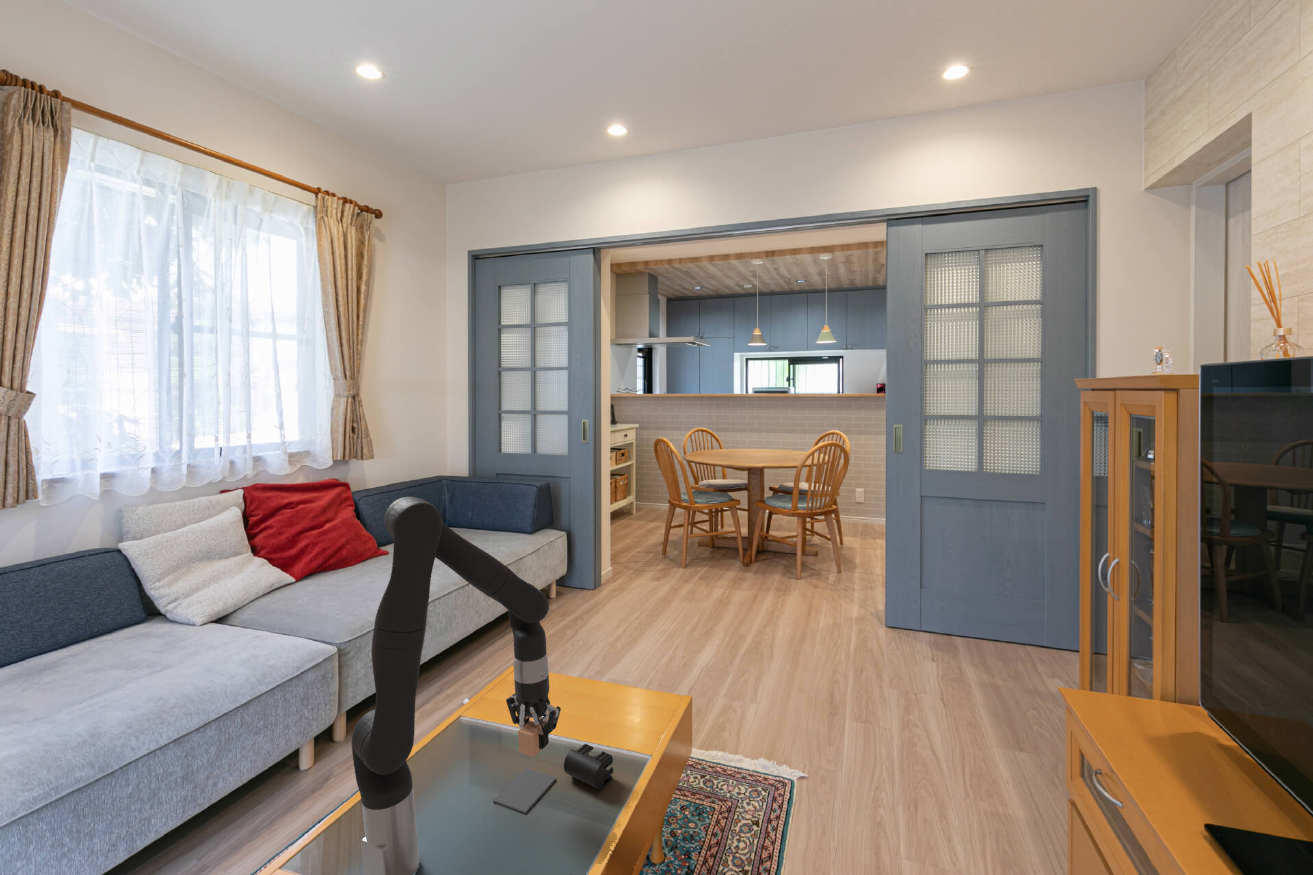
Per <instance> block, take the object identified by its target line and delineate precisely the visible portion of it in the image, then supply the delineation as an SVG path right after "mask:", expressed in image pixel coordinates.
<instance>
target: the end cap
mask: <svg viewBox="0 0 1313 875" xmlns="http://www.w3.org/2000/svg"><path fill="white" fill-rule="evenodd" d="M593 750H594V746H592V745H590V744H587V743H584V744H583V745H581V746H580V747H579V748H577V749H576V750H575V749H572V748H571V749H570V750H569V751H568V752H567V754H566V756H565V758H564V761H563V771H564V773H565V774H567V775H568V776H570V777H573V779H574V778H575V779H576V780H578V781H581V782H583V783H584V784H587V785H588V786H591V787H592V788H594V789H596V790H599V791H601V790H603V789H604V788H605V787H606V786H608V784H610V783H611V782H612V781H613V776H612V774H614V767H613V766H611V765H612V764H613V763H614V761H613V760H614V759H613V758H614V757H613V755H612V754H609V752H606V751H602V750H601V752H600V753H598V754H597V755H595V756H592V755H590V753H591V752H592V751H593ZM609 767H610V768H609ZM607 768H608V769H607ZM610 781H611V782H610ZM609 782H610V783H609Z"/></svg>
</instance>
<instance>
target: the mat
mask: <svg viewBox="0 0 1313 875" xmlns="http://www.w3.org/2000/svg"><path fill="white" fill-rule="evenodd" d="M555 781H557V777H555V776H552V775H548V774H545V773H542V772H539V771H536V770H533V769H530V768H528V767H525V768H523V769H522V770H521V772H520V773H518V775H516V777H515V778H514V779H513V780H512V781H510V783H509V784H507V786H506V787H505V788H504V789H502V791H501V792H500V793H499V794H498V795H497V796H496V797H495V798H494V799H492V802H493V803H495V804H498V805H500V806H502V807H505V808H508V809H510V810H513V811H516V812H519V813H522V814H524V815H526V814H527V813H528V812H529V810H531V808H532V807H533V806H534V805H535V804H536V803H537V802H538V801H539V799H540V798H541V797H542V796H543V795H544V794H545V793H546V792H547V791H548V789H549V788H550V787H551V786H552V785H553V784H554V783H555Z"/></svg>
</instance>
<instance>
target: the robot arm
mask: <svg viewBox="0 0 1313 875" xmlns="http://www.w3.org/2000/svg"><path fill="white" fill-rule="evenodd" d="M383 520H384V526H385V530H386V533H388V535H389V536H390V537H391V538H392V539H393V550H392V551H393V553H392V566H391V573H390V577H389V580H388V584H387V586H386V587H385V591H384V593H383V594H382V597H381V600H380V602H379V605H378V608H377V610H376V614H375V619H374V625H373V626H374V627H373V633H372V641H371V666H372V667H371V668H372V673H373V679H374V686H375V688H374V689H375V706H374V709H372V710H369V711H368V712H367V713H365V714H364V715H363V716H362V717H360V719H359V720H358V722H357V723H356V725H355V726H354V729H353V731H352V735H351V755H352V761H353V768H354V774H355V775H354V776H355V780H356V785H357V787H358V790H359V794H360V801H361V808H362V820H363V828H364V829H363V830H364V836H363V838H361V840H360V847H361V856H362V858H361V859H362V867H363V875H413V874H414V873H415V872H417V873H418V871H419V869H418V868H420V865H419V863H420V853H419V843H418V832H417V830H418V829H417V821H416V820H417V817H416V807H415V798H414V796H415V795H414V786H413V776H412V772H411V769H410V767H409V765H408V762H407V760H408V758H409V757H410V755H411V752H412V750H413V746H414V740H415V721H416V716H415V715H416V714H415V713H416V697H417V695H416V694H417V690H418V682H419V677H420V676H419V675H420V669H421V661H422V660H421V659H422V654H423V648H424V644H425V643H424V642H425V637H426V636H425V635H426V627H427V618H428V617H427V616H428V609H429V602H430V593H431V592H430V591H431V581H432V579H431V578H432V574H433V569H434V565H435V564H434V563H435V559H437V560H439V561H440V562H441V563H443V564H444V565H445V566H446V567H447V568H449V569H450V570H451V571H453V572H454V573H456V574H457V575H458V576H459V577H461V578H462V579H463V580H464V581H465V582H467V583H468V584H470V585H471V586H472V587H474V588H475V589H477V590H478V591H480V592H481V593H483V594H484V595H486V596H487V597H489V598H490V599H491V600H494V601H496V602H498V603H499V604H500V605H501V606H503V607H504V608H505V609H506V610H507V613H508V614H507V615H508V618H509V624H510V627H511V631H512V632H511V633H512V634H513V657H514V658H513V677H514V678H513V680H514V693H513V694H512V695H511V696H509V697H507V698H506V699H505V701H506V702H505V703H506V705H507V708H508V712H509V715H510V717H511V721H512V724H514V725H516V724H517V725H518V728H519V729H521V728H522V727H523V726H525V725H526V724H527V723H528V722H529V721H530V720H531V718H532V719H534V723H535V725H537V728H538V732H539V749H541V750H544V749H545V748H546V747H547V746H548V744H549V743H550V741H549V735H550V734H551V733H552V732H553V731H554V730H556V728H557V724H558V721H559V717H560V714H561V711H562V708H561V707H560V706H559V705H558V706H556V707H555V706H554V705H552V704H551V702H550V699H549V694H550V673H549V671H550V670H549V660H548V659H549V658H548V654H547V652H548V651H547V638H546V637H547V636H546V632H545V629H544V628H543V626H542V625H541V621H542V620H543V619H545V617H546V616H547V615H548V612H549V610H550V609H549V608H550V603H549V599H548V597H547V595H545V593H543V592H542V590H540V589H538V588H537V586H534V585H533V584H531V583H529V582H527V581H525V580H523V578H521V577H519V576H518V575H517V574H516V573H515V572H514V571H513V570H512V569H511V568H509V567H508V566H507V565H505V564H504V563H503V562H501V561H500V560H498V559H497V558H495V557H494V556H492V555H491V554H490V553H488V552H486V550H483V549H482V548H480V547H478V546H477V545H475V544H473V543H472V542H470V541H469V540H467V539H466V538H464V537H463V536H461V535H459V534H458V533H456V532H455V531H454V530H453V529H452V528H450V527H449V526H448V525H447V524H445V523H444V522H443V518H442V515H441V513H440V511H439V509H438V508H437V507H436V506H435V505H433V504H432V503H431V502H428V501H427V500H424V499H423V498H419V497H416V496H404V497H400V498H398V499H396V500H394V501H393V502H392V503H391V504H390V505H389V506H388V507H387V508H386V512H385V514H384V519H383ZM542 724H543V725H544V726H543V725H542ZM417 870H418V871H417Z"/></svg>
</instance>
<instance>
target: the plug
mask: <svg viewBox="0 0 1313 875" xmlns="http://www.w3.org/2000/svg"><path fill="white" fill-rule="evenodd" d="M542 725H543V724H542ZM543 726H544V725H543ZM517 734H518V736H517V738H518V740H517V741H518V752H519V753H521V754H524V755H527V756H530V757H533V758H534V757H535V756H536V755H537V754H538V753H539V752H540V751H542V749H539V732H538V728H537V725H535V723H534V719H533V718H532V719H530V721H529V722H528V723H527V724H526V725H525V726H523V727H522V728H519V730H518V731H517Z"/></svg>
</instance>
